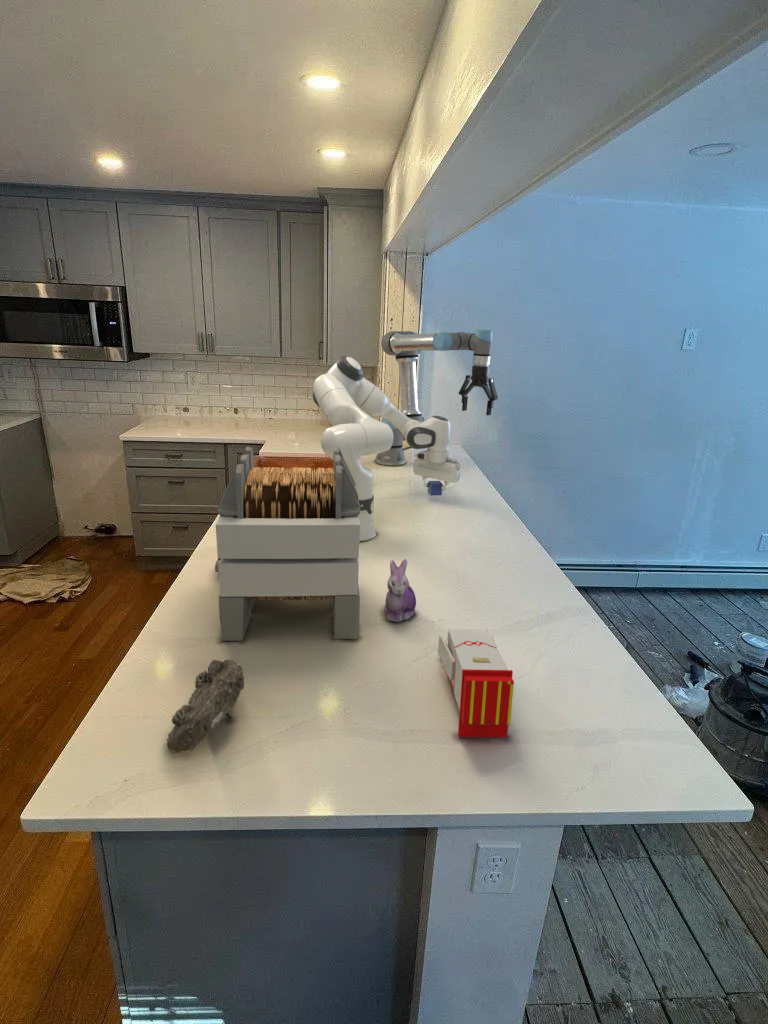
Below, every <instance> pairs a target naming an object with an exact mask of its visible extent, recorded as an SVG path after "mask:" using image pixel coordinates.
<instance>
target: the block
mask: <svg viewBox="0 0 768 1024" xmlns="http://www.w3.org/2000/svg"><path fill="white" fill-rule="evenodd" d="M427 481H428V487H427V493H428V494H429V496H434V497H435V496H443V491H441V487H442V486H444V483H442V482H441V480H427Z"/></svg>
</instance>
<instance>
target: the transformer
mask: <svg viewBox="0 0 768 1024" xmlns="http://www.w3.org/2000/svg"><path fill="white" fill-rule="evenodd" d="M332 461H333V462H332V463H333V464H332V465H333V467H327V468H325V467H317V468H312V467H291V468H285V466H283V467H282V466H281V467H279V466H278V467H277V466H276V467H275V466H271V467H266V466H263V467H260V466H255V461H254V447H253V446H252V447H251V446H245V447H244V450H243V453H241V456H240V459H239V461H238V463H237V464H236V466H235V468H234V470H233V473H232V474H231V477H230V479H229V482H228V483H227V486H226V488H225V490H224V493H223V495H222V497H221V499H220V501H219V504H218V507H217V512H218V513H217V514H218V515H219V517H218V519H217V520H216V523H215V536H216V537H215V539H216V552H217V553H216V554H217V560H218V559H220V561H219V563H218V571H219V572H218V586H219V587H218V588H219V595H218V613H219V614H218V615H219V624H220V635H221V636H220V637H221V638H219V639H220V641H221V642H227V641H234V642H235V641H236V642H237V641H243V639H244V636H245V635H246V632H247V630H248V626H249V625H250V622H251V611H253V609H254V604H255V601H293V600H294V601H309V600H310V601H313V600H314V601H317V600H320V601H321V600H332V609H333V634H334V635H333V636H334V638H333V639H335V640H356V639H358V638H359V637H360V604H361V603H360V601H361V595H360V588H359V587H360V586H359V571H360V570H359V569H360V562H359V557H360V541H359V539H360V522H359V517H358V515H359V514H360V504H359V499H358V494H357V489H356V484H355V482H354V480H353V478H352V475H351V473H350V471H349V469H348V467H347V464H346V462H345V460H344V458H343V456H342V453H341V451H340V449H339V448H334V460H332Z"/></svg>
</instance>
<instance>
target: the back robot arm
mask: <svg viewBox="0 0 768 1024" xmlns="http://www.w3.org/2000/svg"><path fill="white" fill-rule="evenodd" d="M492 343H493V331H492V330H491V329H482V328H477V329H476V330H475V331H474V333H473V332H464V331H460V332H435V333H434V332H432V333H430V332H429V333H417V332H415V331H411V330H399V331H398V330H397V331H396V330H393V331H392V330H391V331H389V332H387V333H385V334H384V335H383V336H382V338H381V341H380V346H381V349H382V351H383V352H384V353H385V354H386V355H388V356H394V357H395V361H396V362H397V363H398V370H399V371H398V373H399V386H400V387H399V388H400V403H401V410H400V411H401V412H402V413H403V414H405V415H406V416H408V417H410V418H414V419H418V420H420V421H421V422H424V421H426V420H427V419H426V418H425V417H424V416H423V415H422V411H421V410H420V409H419V398H418V381H417V378H418V377H417V363H416V362H417V361H418V359H419V354H421V352H431V351H440V352H445V351H471V352H473V355H472V366H471V374H466V375H465V378H464V381H463V383H462V385H461V387H460V389H459V391H458V395H460V396H461V404H462V407H461V411H462V412H465V411H467V410H468V402H469V401H468V400H469V399H468V398H469V396H468V394H469V393H471V391H472V390H473V389H474V388H475V387H479V388H482V389H483V392H484V393H485V395H486V397H487V398H488V400H487V403H486V412H485V413H486V414H485V416H491V415H492V409H493V408H494V403H495V401H497V400H499V396H498V392H497V389H496V387H495V386H496V385H495V379H494V377H488V376H489V372H490V367H489V366H490V363H491V352H492V351H491V350H492ZM380 422H383V423H386V424H388V425H389V426H390V428H391V430H392V432H393V437H394V438H393V444H392V446H391V448H390V449H389V450H387V451H385V452H382V453H379V454H376V455H375V463H376V464H378V465H381V466H387V467H388V466H389V467H397V466H403V465H405V464H406V457H405V453H404V450H407V449H411V448H412V447H411V446H410V445H409V446H406V447H404V448H403V445H404V443H403V442H405V441H406V440H405V439H404V437H403V436H402V434H401V432H400V430H399V429H398V428H396V427H395V426H394V425H392V424H391V423H390V422H388V421H387V420H385V419H384V418H381V420H380ZM412 449H413V448H412Z"/></svg>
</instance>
